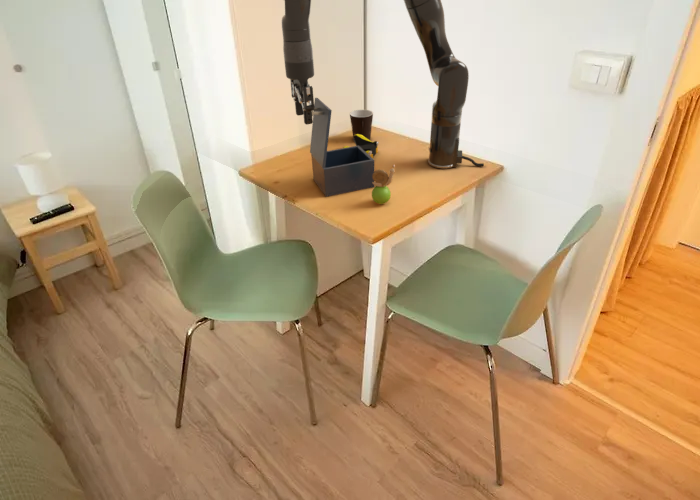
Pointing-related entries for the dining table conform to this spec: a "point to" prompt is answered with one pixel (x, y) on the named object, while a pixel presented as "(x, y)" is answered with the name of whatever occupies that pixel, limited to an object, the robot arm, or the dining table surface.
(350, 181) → the compartment
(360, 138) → the gaming controller
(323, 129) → the lid
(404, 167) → the dining table surface
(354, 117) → the coffee mug
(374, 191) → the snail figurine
